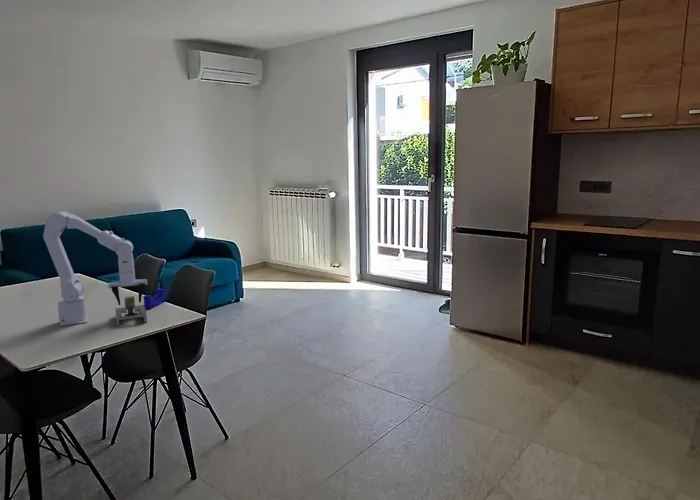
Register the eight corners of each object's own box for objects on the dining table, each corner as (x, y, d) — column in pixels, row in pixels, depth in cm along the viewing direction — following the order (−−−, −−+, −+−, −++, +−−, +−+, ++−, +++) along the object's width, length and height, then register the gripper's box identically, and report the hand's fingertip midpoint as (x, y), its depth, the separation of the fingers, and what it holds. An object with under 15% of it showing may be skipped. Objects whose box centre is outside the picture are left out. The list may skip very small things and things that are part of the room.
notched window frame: (116, 326, 196) (115, 318, 195) (116, 316, 209) (115, 308, 208) (147, 322, 201) (146, 314, 200) (144, 312, 213) (144, 304, 212)
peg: (124, 319, 204) (122, 300, 203) (124, 316, 209) (122, 296, 207) (137, 317, 206) (136, 298, 205) (137, 314, 211) (135, 295, 209)
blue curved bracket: (156, 301, 230) (155, 288, 229) (165, 301, 229) (164, 289, 228) (141, 309, 218) (140, 295, 217) (150, 309, 218) (149, 296, 216)
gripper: (106, 274, 197) (110, 308, 200) (146, 271, 203) (149, 303, 206) (106, 271, 204) (110, 303, 206) (145, 267, 210) (148, 299, 212)
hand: (129, 303), depth 207 cm, fingers open, 7 cm apart
